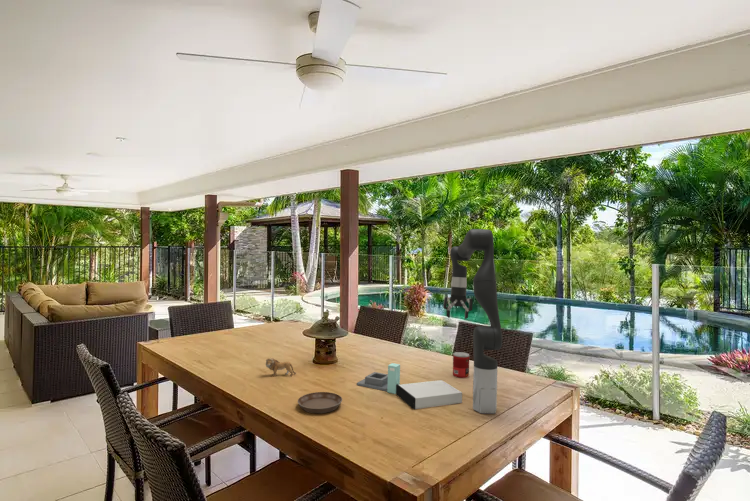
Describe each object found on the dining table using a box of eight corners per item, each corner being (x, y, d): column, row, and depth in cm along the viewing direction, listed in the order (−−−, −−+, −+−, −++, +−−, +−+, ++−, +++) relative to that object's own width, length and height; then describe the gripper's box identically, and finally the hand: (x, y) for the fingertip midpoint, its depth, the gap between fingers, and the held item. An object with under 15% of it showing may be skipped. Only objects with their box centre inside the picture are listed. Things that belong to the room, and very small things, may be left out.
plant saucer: (300, 417, 158) (300, 409, 158) (295, 400, 175) (295, 393, 175) (346, 413, 163) (346, 405, 163) (337, 397, 180) (337, 390, 180)
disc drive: (395, 395, 184) (395, 384, 184) (441, 390, 193) (441, 379, 192) (413, 410, 168) (413, 398, 168) (462, 404, 176) (462, 392, 176)
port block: (399, 383, 198) (399, 375, 198) (387, 391, 188) (387, 382, 188) (369, 378, 206) (369, 369, 206) (356, 385, 195) (356, 376, 195)
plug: (399, 391, 188) (400, 364, 188) (395, 394, 185) (396, 366, 185) (391, 389, 190) (392, 363, 190) (387, 392, 187) (388, 365, 187)
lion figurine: (265, 378, 203) (265, 359, 203) (265, 375, 208) (265, 356, 208) (296, 376, 207) (296, 357, 207) (295, 372, 212) (295, 355, 212)
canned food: (469, 378, 208) (469, 356, 208) (452, 377, 210) (453, 355, 210) (468, 374, 216) (469, 352, 215) (452, 372, 217) (453, 351, 217)
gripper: (445, 285, 210) (444, 318, 210) (474, 287, 210) (472, 320, 209) (443, 284, 218) (442, 316, 217) (471, 286, 217) (469, 318, 217)
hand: (457, 318), depth 213 cm, fingers open, 8 cm apart
